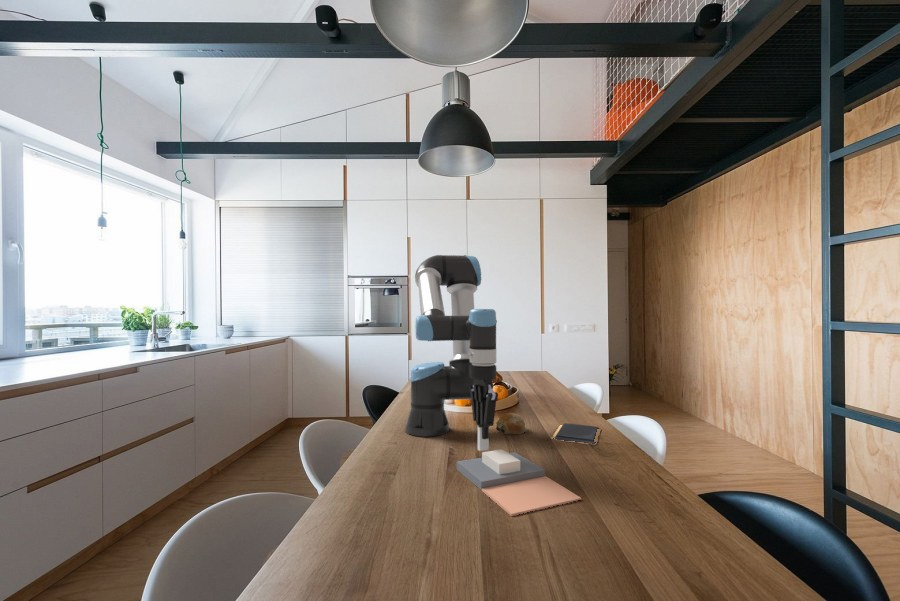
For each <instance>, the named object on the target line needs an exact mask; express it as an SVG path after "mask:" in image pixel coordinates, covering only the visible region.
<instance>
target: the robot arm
mask: <svg viewBox="0 0 900 601" xmlns="http://www.w3.org/2000/svg"><path fill="white" fill-rule="evenodd" d="M481 269H482V268H481V264H480V261H479V259H478V258H477V257H476V256H474V255H466V254H464V255H454V254H453V255H452V254H451V255H442V254H437V255H433V256H432V255H431V256H430V257H427V258H426V259H425V260H423V261H422V262H421V263H420V264H419V266H418V267H417V269H416V271H415V275H414V279H415V285H416V286H417V288H418V296H419V297H418V298H419V309H420V310H419V311H420V315H418V316H416V317H415V325H414V326H415V338H416V340H417V341H421V342H422V341H425V342H426V341H427V342H441V341H443V342H444V341H452V352H453V353H452V355H453V356H452V357H451V359H450V360H449V361H448V364H449V365H445V362H444V361H431V362H425V363H424V362H423V363H421V364H417V365H414V366H413V367H412V368H411V370H410V379H409V382H410V408H409V412H408V415H407V418H406V419H407V420H406V422H405V433H407V434H408V435H412V436H415V437H437V436H441V435H445V434H447V433H448V432H449V431H450V423H449V420H448V417H447V414H446V413H447V412H446V410H445V400H446V401H447V400H448V401H449V400H451V401H454V400H470V401H471V409H472V419H473V421H474V422H475V424H476V425H477V451H478V452H479V451H480V452H482V451H484V452H485V451H489V450H490V446H489V445H490V444H489V443H490V442H489V440H490V439H489V437H490V435H489V434H490V433H489V432H490V431H489V430H490V429H489V428H490V427H491V426H493V427H494V421H495V413H496V407H497V406H496V405H497V400H498V396H499V394H498V392H495V391H494V386H493V385H494V384H493V380H495V379H496V378H497V365H496V363H497V323H498V320H497V312H496V310H495V309H492V308H475V296H474V294H475V293H476V292H477V290H478V287H479V286H481V283H482V270H481ZM445 286H446V292H448V293H449V294H450V300H451V303H450V304H451V315H446V314H445V307H444V301H443V296H442V290H441V287H445Z"/></svg>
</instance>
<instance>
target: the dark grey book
mask: <svg viewBox="0 0 900 601" xmlns="http://www.w3.org/2000/svg"><path fill="white" fill-rule="evenodd" d="M562 424H563V425H560V426H559V427H558V426H557V427H558V429H557V428H556V429H557V430H556V429H555V430H556V432H555V431H554V432H555V433H554V432H553V433H554V435H553V434H552V435H553V436H552V435H551V436H552V437H555V439H557V440H564V441H575V442H584V443H592V444H595V443H596V442H594V439H595V436H596V432H597V429H600V428H599V427H598V426H594V425H585V424H575V423H566V422H565V423H562ZM553 439H554V438H553Z"/></svg>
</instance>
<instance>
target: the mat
mask: <svg viewBox="0 0 900 601" xmlns="http://www.w3.org/2000/svg"><path fill="white" fill-rule="evenodd" d="M481 492H482V493H484V494H485V495H486V496H487V497H488V498H489V497H490V500H491V501H493V502H494V503H497V504H496V505H497V506H499V507H500V508H501V510H503V511H505V512H506V513H507V514H508V515H509V516H510V517H514V516H515V517H516V516H518V515H519V514H520V515H522V514H523V513H524V514H528V513H527V512H529V513H531V512H530V511H533V512H536V511H535V510H537V511H540V509H542V510H544V509H545V508H546V509H549V508H548V507H550V508H554V507H553V506H555V507H557V506H556V505H559V506H563V505H566V503H568V504H570V503H569V502H572V503H574V502H573V501H576V500H580V499H581V500H582V497H581V496H579V495H577V494H575V492H572V491H570V490H569V489H567V488H566V487H564V486H562V485H561V484H559V482H556V481H554V480H553V479H551V478H549V477H547V476H546V475H545V476H544V477H539V478H534V479H529V480H524V481H518V482H513V483H508V484H503V485H498V486H492V487H487V488H482V490H481ZM576 502H577V501H576ZM562 504H563V505H562Z"/></svg>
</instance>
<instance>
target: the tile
mask: <svg viewBox="0 0 900 601" xmlns="http://www.w3.org/2000/svg"><path fill="white" fill-rule="evenodd" d="M509 453H510V452H507V451H505V450H504V449H501V448H500V449H495V450H490V451H489V450H487V451H484V452H482V451H481V458H482V462H483V463H484V464H485V465H487V466H488V467H490V468H491V469H492V470H494V471H495V472H497V473H498V474H505V473H511V472H516V471H520V460H518V459H517V458H515V457H513V456H512V455H510V454H509Z"/></svg>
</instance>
